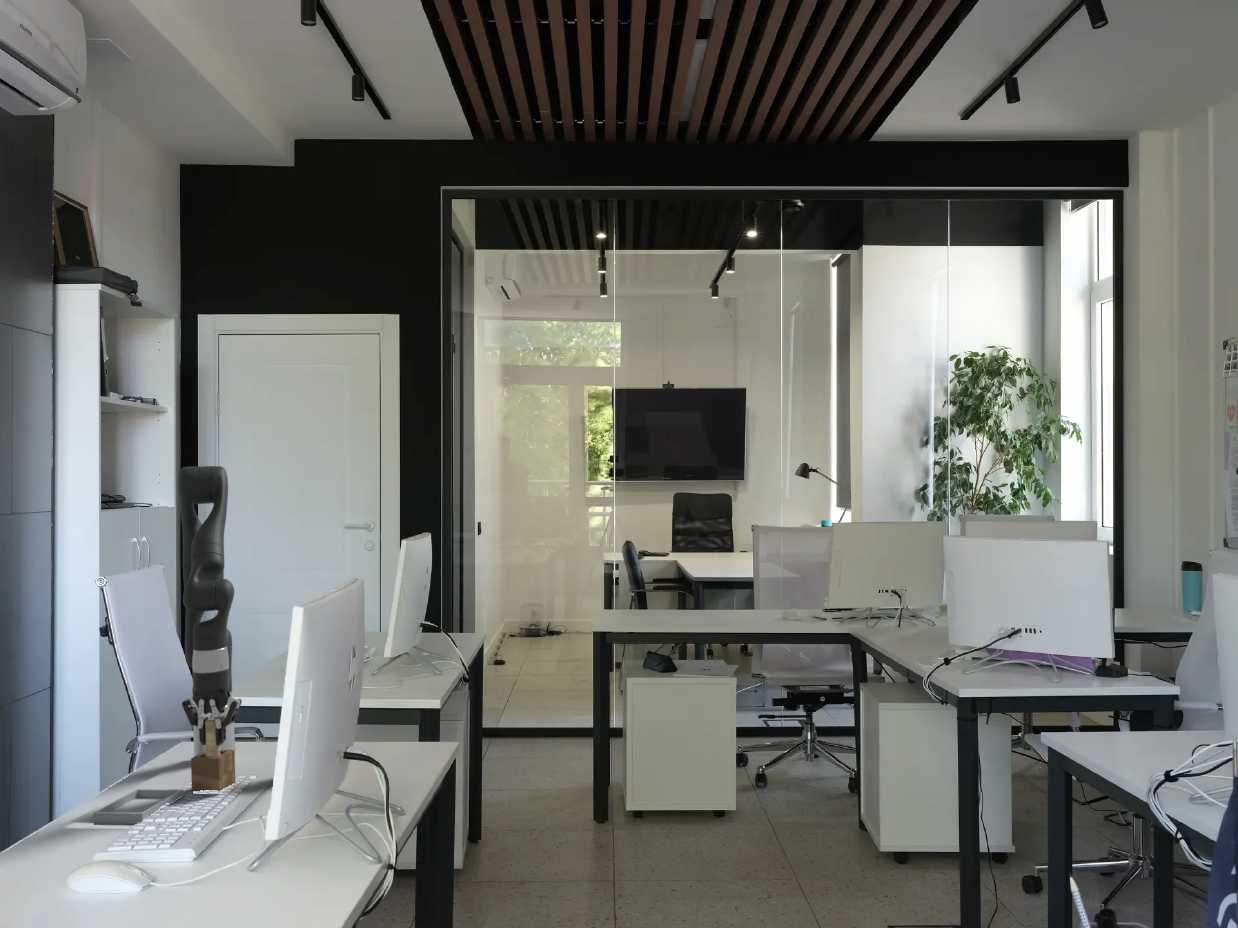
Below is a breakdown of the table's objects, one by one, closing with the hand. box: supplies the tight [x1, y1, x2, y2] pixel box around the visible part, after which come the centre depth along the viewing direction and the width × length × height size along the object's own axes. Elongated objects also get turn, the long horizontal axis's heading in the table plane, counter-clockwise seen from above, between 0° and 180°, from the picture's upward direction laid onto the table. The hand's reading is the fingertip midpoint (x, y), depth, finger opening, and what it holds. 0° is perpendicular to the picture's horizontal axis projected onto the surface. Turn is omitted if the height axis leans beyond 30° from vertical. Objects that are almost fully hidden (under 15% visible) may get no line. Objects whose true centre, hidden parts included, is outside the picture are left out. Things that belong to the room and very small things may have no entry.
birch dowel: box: [205, 718, 221, 757], centre depth 209 cm, size 3×3×14 cm
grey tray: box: [92, 788, 184, 827], centre depth 199 cm, size 14×11×2 cm
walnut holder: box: [190, 749, 236, 792], centre depth 209 cm, size 7×7×9 cm
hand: (212, 743), depth 209 cm, fingers closed on birch dowel, 3 cm apart
